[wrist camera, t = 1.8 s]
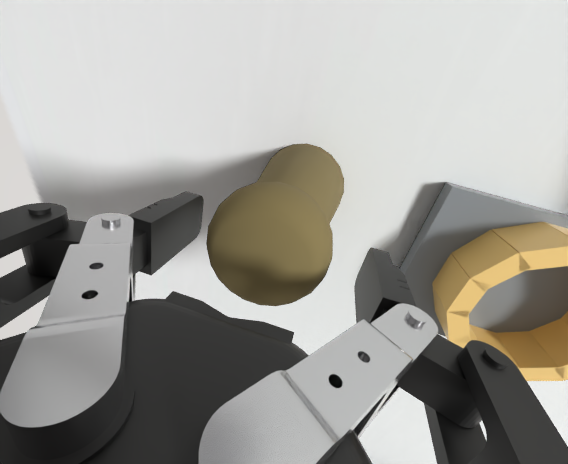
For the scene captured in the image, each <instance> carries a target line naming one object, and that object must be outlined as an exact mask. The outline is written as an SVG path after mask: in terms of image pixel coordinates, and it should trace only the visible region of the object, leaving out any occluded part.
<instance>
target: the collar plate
mask: <svg viewBox="0 0 568 464" xmlns="http://www.w3.org/2000/svg"><path fill="white" fill-rule="evenodd" d="M400 270H401V271H402V272H403V273H404V275H405V277H406V280H407V284H408V285H409V288H410V290H411V293H412V296H413V298H414V301H415V304H416V306H417V308H419V309H421V310H422V311H424V312H425V313H427V314H428V315H429V316H430V317H431V318H432V319H433V320H434V321H435V323H436V325H437V327H438V334H441V335H444V336H446V337H447V340H449V341H451V342H452V343H454V344H456V345H458V346H460V347H462V348H464V347H465V346H466V344H467V343H468V342H469V341H471V340H478V341H482V342H485V343H487V344H489V345H491V346H493V347H495V348H496V349H498V350H499V351H501V352H502V353H504V354H505V355H506V356H507V357H508V358H510V359H511V360H512V361H513V362H514V364H515V365H516V366H517V367H518V369H519V370H520V372H521V373H522V375H523V377H524V378H525V380H526V381H563V380H564V381H565V380H568V215H564V214H561V213H557V212H553V211H550V210H546V209H542V208H539V207H535V206H532V205H528V204H524V203H521V202H517V201H513V200H510V199H506V198H503V197H499V196H495V195H492V194H488V193H484V192H481V191H477V190H474V189H470V188H466V187H463V186H459V185H455V184H452V183H448V182H446V183H445V185H444V187H443V188H442V190H441V192H440V194H439V196H438V198H437V200H436V202H435V203H434V205H433V207H432V209H431V211H430V213H429V215H428V216H427V218H426V220H425V222H424V224H423V226H422V228H421V229H420V231H419V233H418V235H417V237H416V239H415V241H414V243H413V244H412V246H411V248H410V250H409V252H408V254H407V256H406V257H405V259H404V261H403V263H402V265H401V267H400Z"/></svg>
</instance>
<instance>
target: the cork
mask: <svg viewBox="0 0 568 464" xmlns="http://www.w3.org/2000/svg"><path fill="white" fill-rule="evenodd" d="M343 193H344V178H343V175H342V172H341V169H340V166H339V165H338V163H337V162H336V161H335V159H334V158H333V157H332V155H330V154H329V153H328V152H326V151H325V150H323V149H322V148H320V147H317V146H313V145H310V144H293V145H291V146H288V147H286V148H283V149H281V150H280V151H279V152H278V153H276V154H275V155H274V156H273V157H272V158H271V159H270V161H269V163H268V164H267V166H266V168H265V169H264V171H263V173H262V174H261V176H260V178H259V179H258V181H257V182H256V183H253V184H250V185H248V186H245V187H243V188H240V189H238V190H236V191H235V192H234V193H232V194H231V195H230V196H229V197H228V198H227V199H225V200H224V201H223V202H222V203H221V204H220V205H219V207H218V209H217V211H216V212H215V214H214V216H213V218H212V220H211V222H210V224H209V226H208V234H207V243H206V244H207V250H208V255H209V259H210V264H211V266H212V268H213V270H214V272H215V273H216V275H217V277H218V279H219V280H220V281H221V282H222V283H223V284H224V285H225V286H226V287H227V288H228V289H229V290H230V291H231V292H233V293H234V294H236V295H238V296H239V297H241V298H242V299H244V300H247V301H250V302H253V303H256V304H259V305H268V306H279V305H284V304H289V303H292V302H295V301H297V300H299V299H301V298H302V297H304V296H306V295H308V294H310V293H311V292H312V291H313V290H314V289H315V288H316V287H317V286H318V285H319V283H320V282H321V281H322V280H323V278H324V277H325V275H326V273H327V270H328V268H329V265H330V262H331V260H332V251H333V248H332V231H331V228H330V225H329V224H330V222H331V220H332V218H333V216H334V214H335V212H336V210H337V208H338V206H339V204H340V201H341V198H342V195H343Z"/></svg>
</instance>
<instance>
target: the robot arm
mask: <svg viewBox="0 0 568 464" xmlns="http://www.w3.org/2000/svg"><path fill="white" fill-rule="evenodd" d="M202 211H203V197H202V196H200V195H197V194H193V193H190V192H184V193H181V194H179V195H177V196H175V197H173V198H169V199H163V200H160V201H158V202H156V203H154V205H153V204H152V205H150V206H147V208H146V207H145V208H143V209H141V210H139V211H137V212H135V213H133V214H130V215H125V214H121V213H103V214H98V215H95V216H93V217H91V218H89V219H88V221H87V222H82V221H75V220H68V216H67V210H66V208H65V207H63V206H61V205H57V204H51V203H36V204H29V205H24V206H20V207H17V208H14V209H11V210H8V211H4V212H2V213H0V258H2V257H4V256H6V255H8V254H10V253H12V252H14V251H17V250H19V249H21V248H22V251H23V254H24V258H25V262H26V265H24V266H22V267H20V268H19V269H17V270H15V271H13V272H11V273H9V274H7V275H5V276H3V277H1V278H0V328H1V327H2V326H4V325H5V324H7V323H8V322H10V321H11V320H13V319H14V318H16V317H17V316H19V315H20V314H22V313H23V312H25V311H26V310H28V309H29V308H31V307H32V306H34V305H35V304H37V303H38V302H40V301H41V300H43V299H44V298H46V297H47V296H49V297H48V300H47V302H46V305H45V307H44V310H43V312H42V315H41V317H40V320H39V322H38V324H37V325H36V326H35V327H33V328H31V329H29V330H28V331H27V332H26V333H23V334H19V335H16V336H13V337H9V338H6V339H3V340H0V464H372V463H371V461H370V459H369V457H368V455H367V453H366V452H365V450H364V448H363V446H362V444H361V443H360V441H359V438H360V436H361V435H362V434H363V432H364V431H365V430H366V428H367V427H368V426H369V424H370V423H371V422H372V421H373V419H374V418H375V417H376V416H377V415H378V413H379V412H380V411H381V410H382V409H383V407H384V406H385V405H386V404H387V403H388V401H389V400H390V399H391V398H392V397H393V395H394V394H395V393H396V392H397V391H398V389H399V388H402V389H403V390H405V391H406V392H408V393H409V394H411V395H413V396H414V397H416V398H417V399H419V400H420V401H422V402H423V403H424V405H425V410H426V414H427V419H428V424H429V428H430V433H431V437H432V442H433V446H434V451H435V455H436V460H437V464H568V447H567V445H566V443H565V442H564V440H563V439H562V437H561V435H560V434H559V432H558V431H557V429H556V427H555V426H554V424H553V423H552V421H551V420H550V418H549V416H548V415H547V413H546V412H545V410H544V408H543V407H542V405H541V404H540V402H539V400H538V399H537V397H536V396H535V394H534V393H533V391H532V389H531V388H530V386H529V385H528V383H527V381H526V380H525V378H524V377H523V375H522V373H521V372H520V370H519V369H518V367H517V366H516V365H515V364H514V362H513V361H512V360H511V359H510V358H508V357H507V356H506V355H505V354H504V353H502V352H501V351H499V350H498V349H496V348H495V347H493V346H491V345H489V344H487V343H485V342H482V341H478V340H471V341H469V342H468V343H467V344H466V346H465V347H464V348H462V347H460V346H458V345H456V344H454V343H452V342H451V341H449V340H447V339H445V338H443V337H442V336H440V335H438V334H437V333H438V327H437V325H436V323H435V321H434V320H433V319H432V318H431V317H430V316H429V315H428V314H427V313H425V312H424V311H422V310H421V309H419V308H417V306H416V304H415V301H414V298H413V296H412V293H411V290H410V288H409V285H408V284H407V280H406V277H405V275H404V273H403V272H402V271H401V270H400V269H399V268H398V267H397V266H394V265H392V262H391V259H390V256H389V253H388V252H385V251H381V250H378V249H375V248H370V249H369V251H368V253H367V255H366V258H365V260H364V262H363V264H362V267H361V269H360V271H359V273H358V276H357V279H356V282H355V305H356V322H357V324H355V325H354V326H352V327H351V328H349V329H348V330H346V331H345V332H343V333H342V334H340V335H339V336H337V337H336V338H334V339H333V340H331V341H330V342H329V343H327V344H326V345H324V346H323V347H321V348H320V349H318V350H317V351H315V352H314V353H312V354H311V355H307V354H306V353H305V352H304V351H303V350H302V349H301V348H299V347H298V346H297V345H295V344H293V343H292V339H293V335H294V332H292V331H289V330H286V329H283V328H280V327H277V326H274V325H271V324H268V323H265V322H260V321H253V320H245V319H237V318H230V317H227V316H225V315H224V314H222V313H221V312H219V311H217V310H216V309H214V308H212V307H211V306H209V305H207V304H206V303H204V302H203V301H200V300H197V299H194V298H192V297H189V296H186V295H183V294H180V293H177V292H174V291H173V292H172V293H171V294H170V295H169V296H168V297H167V298H166V299H143V300H136V301H135V288H136V273H137V272H138V271H140V272H143V273H146V274H149V275H152V274H153V273H155V272H156V271H157V270H158V269H159V268H161V267H162V266H163V265H164V264H165V263H167V262H168V261H169V260H170V259H171V258H173V257H174V256H175V255H176V254H177V253H179V252H180V251H181V250H182V249H183V248H185V247H186V246H187V245H188V244H189V243H191V242H192V241H193V240H194V239H195V238H196V237H197V236H198V234H199V232H200V229H201V222H202ZM481 421H483V423H484V426H485V429H486V434H487V442H486V440H485V437H484V434H483V432H482V429H481V427H480V424H479V422H481Z"/></svg>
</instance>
